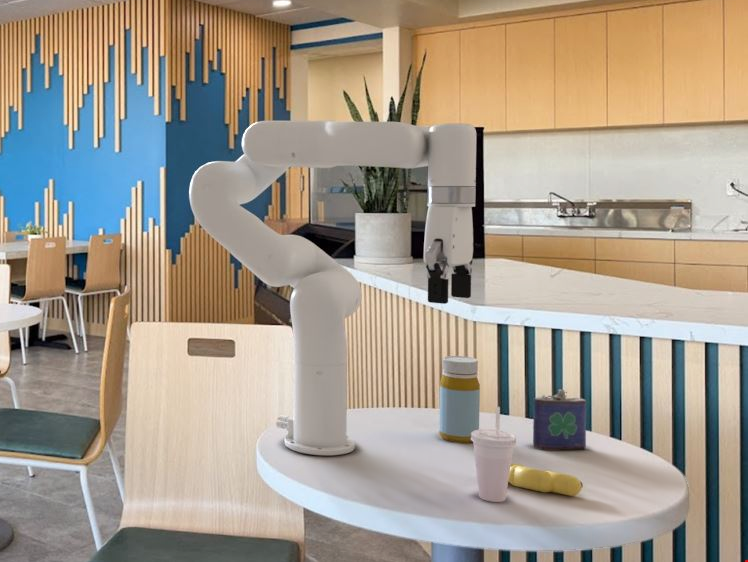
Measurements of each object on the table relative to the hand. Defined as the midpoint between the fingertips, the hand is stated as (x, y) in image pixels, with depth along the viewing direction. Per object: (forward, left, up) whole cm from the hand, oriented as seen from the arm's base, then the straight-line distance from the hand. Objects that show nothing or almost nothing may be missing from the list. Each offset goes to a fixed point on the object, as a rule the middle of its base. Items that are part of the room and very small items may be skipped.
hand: (449, 300), depth 145 cm
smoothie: (+11, -10, -28) cm, 32 cm away
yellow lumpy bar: (+14, -2, -28) cm, 32 cm away
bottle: (-5, +18, -28) cm, 34 cm away
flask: (+11, +24, -28) cm, 39 cm away
